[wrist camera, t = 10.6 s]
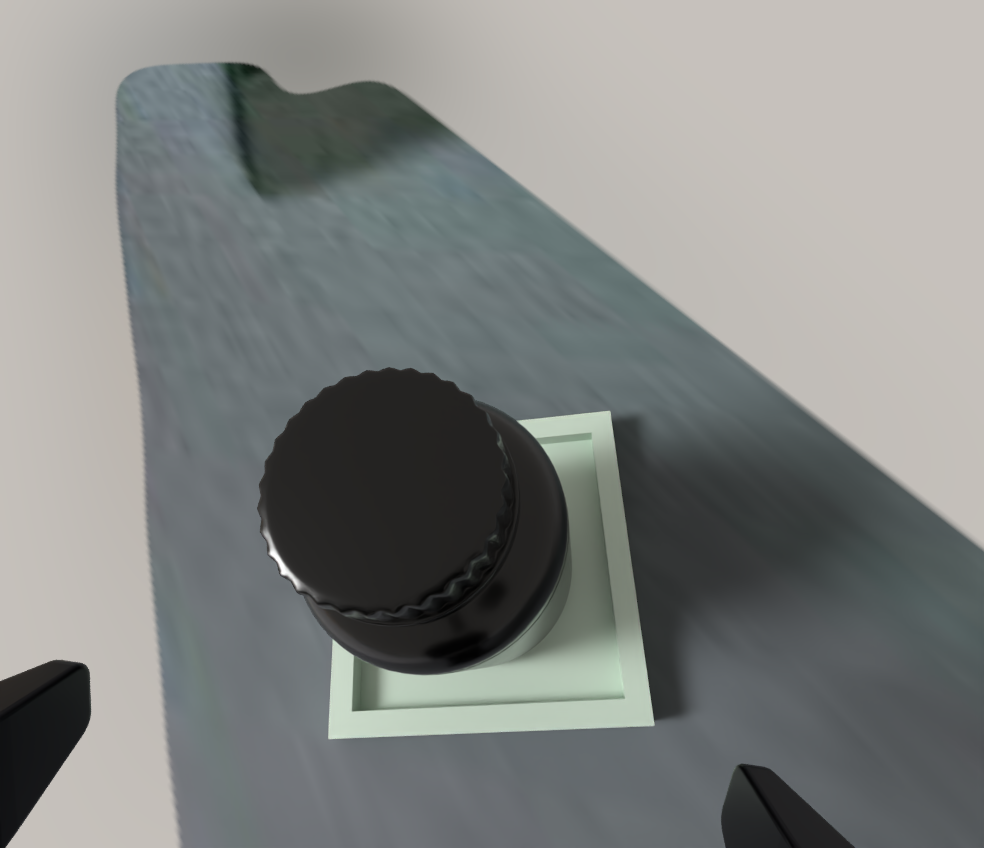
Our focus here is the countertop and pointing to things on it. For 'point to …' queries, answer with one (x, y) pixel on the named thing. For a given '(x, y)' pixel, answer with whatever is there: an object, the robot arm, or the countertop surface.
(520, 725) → the sage tray
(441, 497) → the supplement bottle
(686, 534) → the countertop surface
